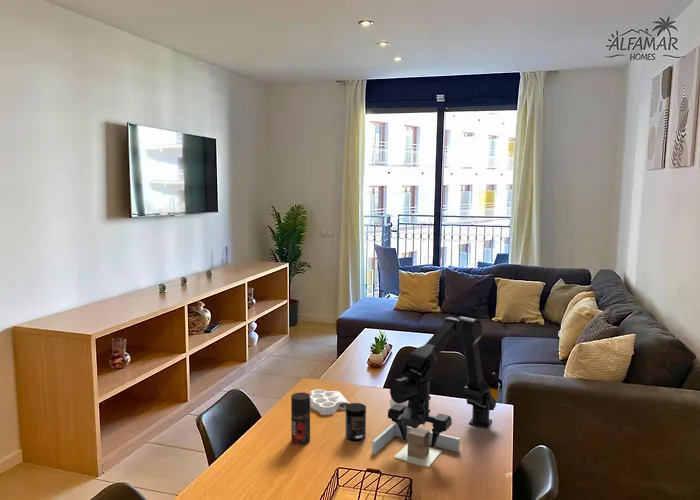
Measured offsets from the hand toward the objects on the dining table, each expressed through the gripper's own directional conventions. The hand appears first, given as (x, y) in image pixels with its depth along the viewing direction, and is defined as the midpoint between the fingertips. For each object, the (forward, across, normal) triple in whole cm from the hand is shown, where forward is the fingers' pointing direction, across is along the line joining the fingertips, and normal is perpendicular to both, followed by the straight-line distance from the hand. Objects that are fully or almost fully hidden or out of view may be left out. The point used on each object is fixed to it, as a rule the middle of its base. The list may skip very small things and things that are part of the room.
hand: (418, 443), depth 158 cm
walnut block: (+3, 0, 0) cm, 3 cm away
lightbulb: (+4, -14, +16) cm, 22 cm away
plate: (+4, 0, 0) cm, 4 cm away
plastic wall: (+3, -1, +1) cm, 4 cm away
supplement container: (+4, -22, 0) cm, 22 cm away
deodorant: (+4, -36, -11) cm, 38 cm away
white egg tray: (+4, -44, +18) cm, 48 cm away
